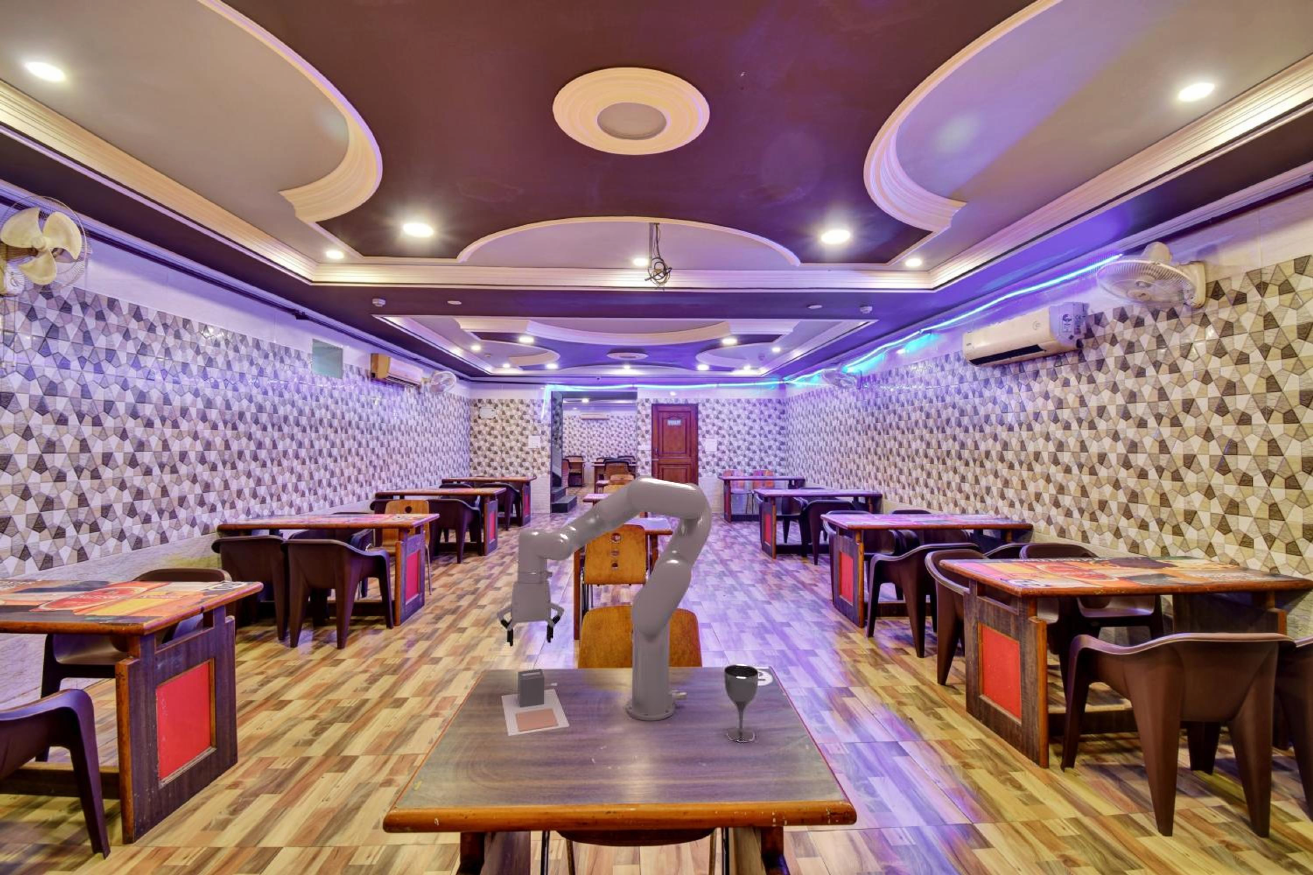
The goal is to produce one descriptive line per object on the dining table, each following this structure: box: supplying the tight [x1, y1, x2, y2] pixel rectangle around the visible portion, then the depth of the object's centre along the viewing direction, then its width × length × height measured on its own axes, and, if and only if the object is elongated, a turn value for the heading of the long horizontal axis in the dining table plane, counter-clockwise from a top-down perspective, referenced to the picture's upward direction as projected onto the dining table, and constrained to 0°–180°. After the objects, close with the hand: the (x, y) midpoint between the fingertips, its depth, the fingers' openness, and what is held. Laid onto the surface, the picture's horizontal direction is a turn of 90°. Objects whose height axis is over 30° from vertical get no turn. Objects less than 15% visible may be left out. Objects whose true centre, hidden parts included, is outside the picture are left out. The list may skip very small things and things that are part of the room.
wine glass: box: [723, 663, 759, 742], centre depth 131 cm, size 8×8×15 cm
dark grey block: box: [517, 668, 545, 708], centre depth 145 cm, size 6×6×7 cm
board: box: [501, 688, 570, 737], centre depth 139 cm, size 14×22×2 cm, turn 20°
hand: (530, 642), depth 145 cm, fingers open, 9 cm apart
